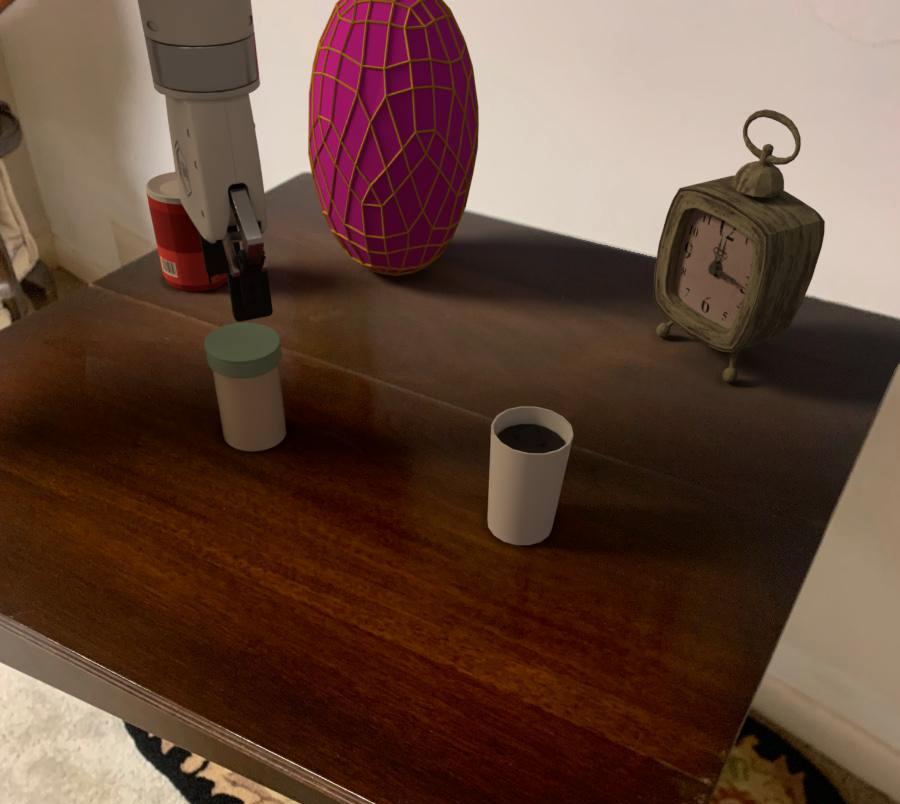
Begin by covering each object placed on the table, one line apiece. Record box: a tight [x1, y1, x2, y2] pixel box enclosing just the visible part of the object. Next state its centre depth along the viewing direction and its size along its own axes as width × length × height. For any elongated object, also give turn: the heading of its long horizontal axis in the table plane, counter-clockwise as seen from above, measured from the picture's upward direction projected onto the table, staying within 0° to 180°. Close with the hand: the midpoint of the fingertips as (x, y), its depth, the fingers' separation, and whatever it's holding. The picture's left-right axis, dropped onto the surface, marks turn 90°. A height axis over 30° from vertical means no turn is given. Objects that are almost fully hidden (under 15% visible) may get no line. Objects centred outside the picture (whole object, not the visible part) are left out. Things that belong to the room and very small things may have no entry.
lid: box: [203, 321, 283, 378], centre depth 79 cm, size 7×7×2 cm
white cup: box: [486, 405, 574, 546], centre depth 75 cm, size 7×7×10 cm
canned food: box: [145, 171, 228, 293], centre depth 103 cm, size 8×8×11 cm
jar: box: [211, 364, 287, 452], centre depth 82 cm, size 6×6×9 cm
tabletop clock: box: [652, 109, 826, 384], centre depth 91 cm, size 14×9×25 cm, turn 32°
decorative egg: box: [307, 0, 480, 277], centre depth 100 cm, size 19×19×30 cm
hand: (238, 292), depth 75 cm, fingers open, 8 cm apart
